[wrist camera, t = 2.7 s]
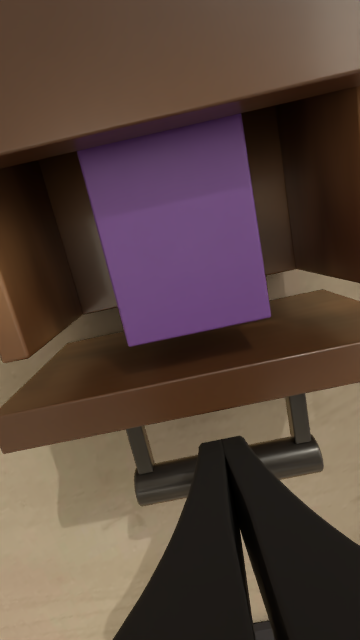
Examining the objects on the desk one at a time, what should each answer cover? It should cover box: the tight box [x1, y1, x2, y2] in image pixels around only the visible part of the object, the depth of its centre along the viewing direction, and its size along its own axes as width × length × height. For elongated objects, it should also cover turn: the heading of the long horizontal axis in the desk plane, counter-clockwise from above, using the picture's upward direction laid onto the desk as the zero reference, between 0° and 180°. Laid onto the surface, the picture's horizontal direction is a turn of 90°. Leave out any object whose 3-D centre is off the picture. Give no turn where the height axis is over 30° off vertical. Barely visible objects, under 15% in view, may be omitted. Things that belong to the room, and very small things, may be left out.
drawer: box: [0, 86, 360, 506], centre depth 11 cm, size 21×12×7 cm, turn 12°
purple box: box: [77, 113, 271, 347], centre depth 11 cm, size 4×8×6 cm, turn 12°
